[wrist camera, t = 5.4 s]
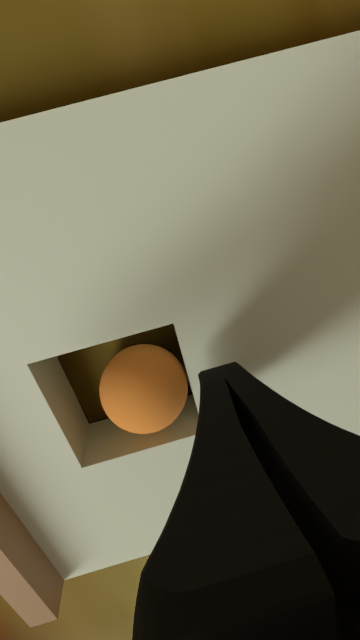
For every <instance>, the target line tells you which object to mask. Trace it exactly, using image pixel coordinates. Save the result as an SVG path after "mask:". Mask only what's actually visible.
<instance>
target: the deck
mask: <svg viewBox="0 0 360 640" xmlns="http://www.w3.org/2000/svg"><path fill="white" fill-rule="evenodd" d="M170 324H173V325H174V328H175V332H176V335H177V339H178V343H179V346H180V350H181V354H182V357H183V361H184V364H185V368H186V372H187V375H188V379H189V383H190V386H191V390H192V393H193V394H192V395H188V396H187V399H186V402H185V405H184V407H183V409H182V411H181V413H180V414H179V416H178V417H177V418H176V419H175V420H174V421H173V422H172V423H171V424H170V425H168V426H167V427H165V428H164V429H162V430H160V431H157V432H154V433H149V434H137V433H131V432H128V431H126V430H123V429H121V428H120V427H118V426H117V425H116V424H115V423H113V422H112V421H111V420H110V418H108V419H105V420H101V421H98V422H94V423H91V424H89V423H88V421H87V418H86V416H85V414H84V412H83V410H82V408H81V406H80V404H79V402H78V400H77V397H76V395H75V393H74V391H73V389H72V387H71V385H70V383H69V381H68V379H67V376H66V374H65V372H64V370H63V368H62V366H61V364H60V362H59V360H58V358H57V356H59V355H62V354H66V353H69V352H73V351H77V350H80V349H84V348H87V347H91V346H94V345H98V344H102V343H105V342H109V341H112V340H116V339H119V338H123V337H127V336H130V335H134V334H137V333H141V332H145V331H148V330H152V329H155V328H159V327H162V326H166V325H170ZM232 362H237V363H239V364H240V365H241V366H242V367H243V368H245V369H246V370H247V371H248V372H249V373H251V374H252V375H253V376H254V377H256V378H257V379H258V380H260V381H261V382H262V383H264V384H265V385H267V386H268V387H269V388H271V389H272V390H274V391H275V392H277V393H278V394H280V395H281V396H283V397H284V398H286V399H287V400H289V401H291V402H292V403H294V404H296V405H297V406H299V407H301V408H302V409H304V410H306V411H308V412H309V413H311V414H313V415H315V416H317V417H319V418H321V419H323V420H325V421H327V422H329V423H331V424H333V425H335V426H338V427H340V428H342V429H344V430H347V431H349V432H352V433H354V434H357V435H359V436H360V30H359V31H355V32H351V33H347V34H343V35H340V36H336V37H332V38H328V39H324V40H320V41H316V42H312V43H308V44H304V45H301V46H297V47H293V48H289V49H285V50H281V51H277V52H273V53H269V54H265V55H262V56H258V57H254V58H250V59H246V60H242V61H238V62H234V63H230V64H227V65H223V66H219V67H215V68H211V69H207V70H203V71H199V72H195V73H191V74H188V75H184V76H180V77H176V78H172V79H168V80H164V81H160V82H156V83H152V84H149V85H145V86H141V87H137V88H133V89H129V90H125V91H121V92H117V93H114V94H110V95H106V96H102V97H98V98H94V99H90V100H86V101H82V102H78V103H75V104H71V105H67V106H63V107H59V108H55V109H51V110H47V111H43V112H39V113H36V114H32V115H28V116H24V117H20V118H16V119H12V120H8V121H4V122H1V123H0V595H1V596H2V597H3V598H4V599H5V600H6V601H7V602H8V603H9V604H10V606H11V607H12V608H13V609H14V610H15V611H16V612H17V613H18V614H19V615H20V617H21V618H22V619H23V620H24V621H25V622H26V623H27V624H28V625H29V626H30V627H34V626H37V625H40V624H44V623H47V622H50V621H53V620H57V619H58V613H59V607H60V601H61V594H62V588H63V582H64V580H66V579H70V578H73V577H76V576H80V575H83V574H86V573H90V572H93V571H96V570H100V569H103V568H106V567H109V566H113V565H116V564H119V563H123V562H126V561H129V560H133V559H136V558H139V557H143V556H146V555H149V554H151V552H152V550H153V549H154V547H155V545H156V543H157V541H158V539H159V537H160V535H161V533H162V531H163V528H164V526H165V524H166V522H167V519H168V517H169V515H170V512H171V510H172V507H173V505H174V503H175V500H176V498H177V496H178V493H179V490H180V487H181V485H182V482H183V479H184V476H185V472H186V469H187V466H188V463H189V459H190V456H191V452H192V448H193V444H194V439H195V434H196V428H197V422H198V415H199V404H200V382H199V377H198V374H199V373H200V371H204V370H207V369H211V368H214V367H218V366H221V365H225V364H228V363H232Z"/></svg>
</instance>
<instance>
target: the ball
mask: <svg viewBox="0 0 360 640" xmlns="http://www.w3.org/2000/svg"><path fill="white" fill-rule="evenodd" d="M187 393H188V382H187V377H186V374H185V371H184V369H183V367H182V365H181V363H180V362H179V361H178V359H177V358H176V357H175V356H174V355H173V354H171V353H170V352H169V351H167V350H166V349H164V348H162V347H159V346H156V345H151V344H139V345H134V346H130V347H128V348H125V349H123V350H122V351H120V352H119V353H117V354H116V355H115V356H114V357H113V358H112V359H111V360H110V361H109V362H108V364H107V366H106V367H105V369H104V371H103V373H102V376H101V380H100V387H99V394H100V400H101V404H102V407H103V409H104V411H105V413H106V414H107V416H108V417H109V418H110V420H111V421H112V422H113V423H115V424H116V425H117V426H118V427H120V428H121V429H123V430H126V431H128V432H131V433H137V434H149V433H154V432H157V431H160V430H162V429H164V428H165V427H167V426H168V425H170V424H171V423H172V422H173V421H174V420H175V419H176V418H177V417H178V416H179V414H180V413H181V411H182V409H183V407H184V405H185V402H186V399H187Z"/></svg>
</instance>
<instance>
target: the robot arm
mask: <svg viewBox="0 0 360 640" xmlns="http://www.w3.org/2000/svg"><path fill="white" fill-rule="evenodd" d="M198 377H199V382H200V404H199V415H198V422H197V428H196V434H195V439H194V444H193V448H192V452H191V456H190V459H189V463H188V466H187V469H186V472H185V476H184V479H183V482H182V485H181V487H180V490H179V493H178V496H177V498H176V500H175V503H174V505H173V507H172V510H171V512H170V515H169V517H168V519H167V522H166V524H165V526H164V528H163V531H162V533H161V535H160V537H159V539H158V541H157V543H156V545H155V547H154V549H153V550H152V552H151V554H150V556H149V558H148V560H147V562H146V564H145V566H144V568H143V570H142V572H141V577H140V582H139V588H138V593H137V599H136V606H135V614H134V625H133V638H132V640H360V436H359V435H357V434H354V433H352V432H349V431H347V430H344V429H342V428H340V427H338V426H335V425H333V424H331V423H329V422H327V421H325V420H323V419H321V418H319V417H317V416H315V415H313V414H311V413H309V412H308V411H306V410H304V409H302V408H301V407H299V406H297V405H296V404H294V403H292V402H291V401H289V400H287V399H286V398H284V397H283V396H281V395H280V394H278V393H277V392H275V391H274V390H272V389H271V388H269V387H268V386H267V385H265V384H264V383H262V382H261V381H260V380H258V379H257V378H256V377H254V376H253V375H252V374H251V373H249V372H248V371H247V370H246V369H245V368H243V367H242V366H241V365H240V364H239V363H237V362H232V363H228V364H225V365H221V366H218V367H214V368H211V369H207V370H204V371H200V373H199V374H198Z"/></svg>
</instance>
